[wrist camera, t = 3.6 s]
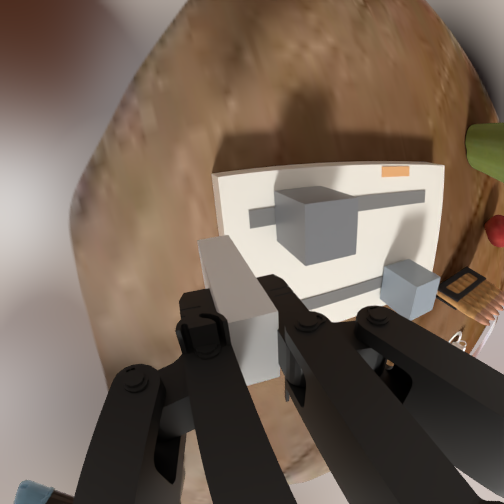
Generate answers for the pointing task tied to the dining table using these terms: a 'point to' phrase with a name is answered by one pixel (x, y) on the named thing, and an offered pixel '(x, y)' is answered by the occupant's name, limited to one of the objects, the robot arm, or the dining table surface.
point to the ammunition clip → (472, 295)
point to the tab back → (409, 288)
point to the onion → (495, 230)
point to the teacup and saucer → (458, 341)
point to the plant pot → (486, 148)
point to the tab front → (316, 223)
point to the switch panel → (368, 231)
